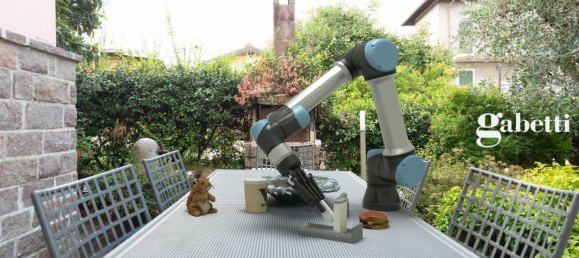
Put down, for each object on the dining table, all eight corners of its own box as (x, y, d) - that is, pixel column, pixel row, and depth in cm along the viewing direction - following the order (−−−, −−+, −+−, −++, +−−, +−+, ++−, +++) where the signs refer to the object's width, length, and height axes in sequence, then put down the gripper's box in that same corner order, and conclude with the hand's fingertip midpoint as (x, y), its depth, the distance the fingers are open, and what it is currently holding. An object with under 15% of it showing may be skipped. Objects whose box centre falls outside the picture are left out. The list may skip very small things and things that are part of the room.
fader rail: (297, 234, 128) (297, 219, 128) (308, 229, 134) (308, 215, 134) (353, 243, 119) (353, 227, 119) (362, 237, 125) (362, 222, 125)
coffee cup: (264, 214, 155) (264, 181, 155) (240, 212, 157) (240, 180, 156) (271, 208, 164) (271, 177, 164) (247, 207, 166) (247, 177, 166)
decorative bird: (329, 221, 145) (329, 199, 145) (336, 211, 160) (337, 192, 160) (345, 222, 143) (345, 200, 143) (351, 212, 159) (351, 193, 159)
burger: (381, 222, 144) (381, 208, 144) (393, 229, 135) (393, 214, 135) (354, 223, 142) (354, 209, 142) (364, 230, 133) (364, 216, 133)
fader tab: (333, 233, 123) (333, 200, 123) (340, 229, 127) (340, 197, 127) (339, 235, 122) (340, 201, 122) (347, 231, 126) (347, 198, 126)
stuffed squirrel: (196, 217, 149) (196, 180, 149) (178, 210, 160) (177, 176, 160) (220, 213, 156) (220, 177, 156) (201, 207, 167) (201, 173, 166)
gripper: (288, 166, 141) (333, 223, 132) (266, 170, 129) (314, 232, 121) (302, 151, 138) (349, 208, 130) (281, 154, 127) (331, 216, 118)
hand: (332, 220), depth 125 cm, fingers closed
